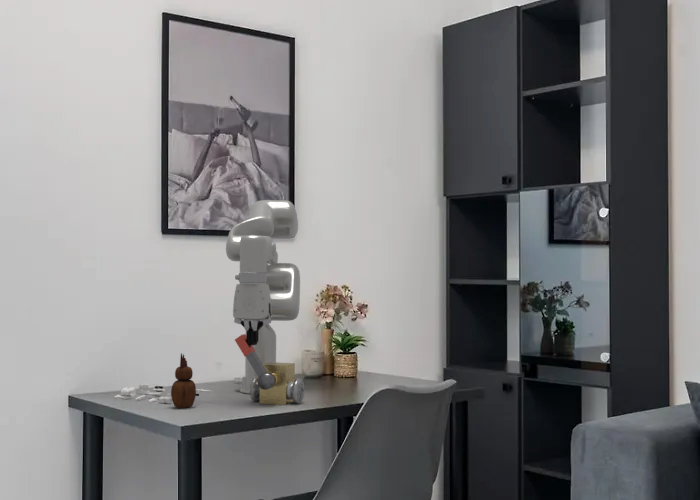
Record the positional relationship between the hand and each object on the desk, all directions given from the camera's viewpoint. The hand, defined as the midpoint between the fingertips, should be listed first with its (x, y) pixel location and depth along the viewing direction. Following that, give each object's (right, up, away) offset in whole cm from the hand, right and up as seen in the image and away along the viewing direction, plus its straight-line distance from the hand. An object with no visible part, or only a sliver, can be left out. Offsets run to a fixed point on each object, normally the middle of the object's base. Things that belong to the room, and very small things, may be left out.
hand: (252, 344), depth 250 cm
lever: (+5, -12, -2) cm, 13 cm away
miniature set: (-29, -18, +10) cm, 35 cm away
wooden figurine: (-18, -17, -5) cm, 25 cm away
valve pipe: (+6, -17, +5) cm, 19 cm away
